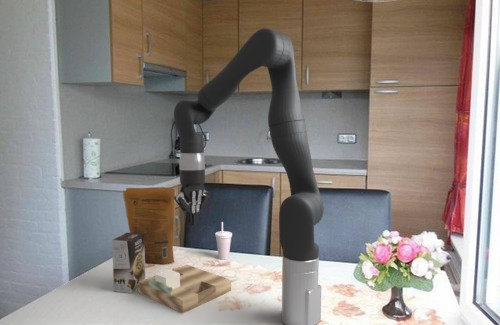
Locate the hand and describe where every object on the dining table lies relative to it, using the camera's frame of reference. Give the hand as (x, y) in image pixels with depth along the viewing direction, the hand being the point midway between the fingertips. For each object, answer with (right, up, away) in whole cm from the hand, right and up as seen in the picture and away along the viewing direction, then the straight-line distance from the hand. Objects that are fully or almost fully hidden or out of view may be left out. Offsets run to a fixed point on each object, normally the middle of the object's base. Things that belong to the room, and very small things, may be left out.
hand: (193, 224), depth 123 cm
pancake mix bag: (-19, -18, +25) cm, 36 cm away
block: (-7, -17, -6) cm, 19 cm away
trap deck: (-2, -20, -1) cm, 20 cm away
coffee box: (-20, -20, +3) cm, 29 cm away
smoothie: (+7, -18, +30) cm, 35 cm away
